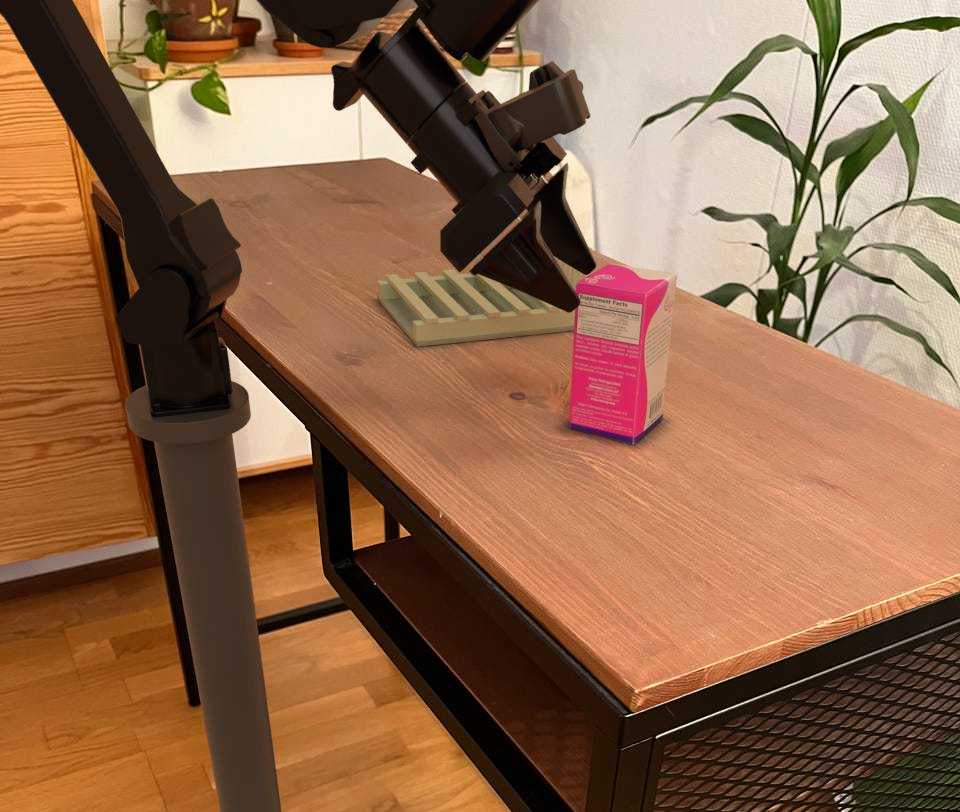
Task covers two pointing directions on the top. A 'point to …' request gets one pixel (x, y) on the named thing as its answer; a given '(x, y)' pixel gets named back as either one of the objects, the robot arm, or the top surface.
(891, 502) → the top surface
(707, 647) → the top surface
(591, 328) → the supplement box
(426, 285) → the drying rack
